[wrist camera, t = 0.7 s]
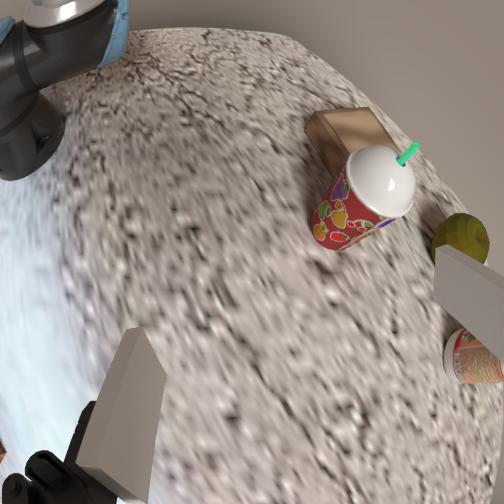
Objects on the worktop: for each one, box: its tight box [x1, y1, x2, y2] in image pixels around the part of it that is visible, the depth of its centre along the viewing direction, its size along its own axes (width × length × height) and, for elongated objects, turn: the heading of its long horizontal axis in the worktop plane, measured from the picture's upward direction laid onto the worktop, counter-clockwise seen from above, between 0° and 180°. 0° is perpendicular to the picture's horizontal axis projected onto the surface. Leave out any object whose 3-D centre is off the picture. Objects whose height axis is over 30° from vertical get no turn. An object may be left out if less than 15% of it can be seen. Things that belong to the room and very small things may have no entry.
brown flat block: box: [304, 107, 401, 180], centre depth 43 cm, size 12×12×5 cm
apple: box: [431, 213, 490, 264], centre depth 38 cm, size 10×10×11 cm
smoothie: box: [311, 142, 420, 251], centre depth 31 cm, size 8×8×20 cm
